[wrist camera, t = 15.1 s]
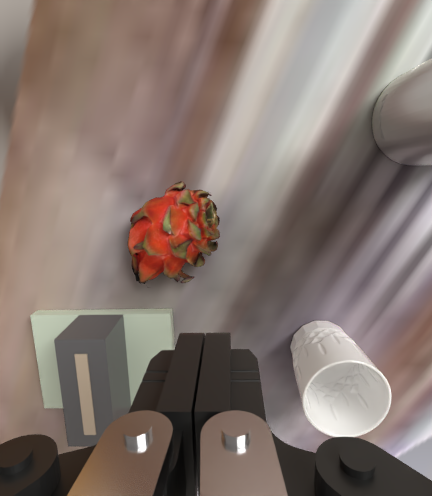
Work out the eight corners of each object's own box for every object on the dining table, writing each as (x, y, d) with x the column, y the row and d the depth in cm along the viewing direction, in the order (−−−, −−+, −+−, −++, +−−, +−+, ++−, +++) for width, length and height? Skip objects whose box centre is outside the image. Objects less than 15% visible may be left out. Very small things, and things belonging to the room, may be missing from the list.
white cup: (365, 332, 41) (408, 383, 31) (331, 386, 43) (362, 451, 33) (305, 303, 40) (330, 346, 31) (273, 359, 42) (286, 416, 32)
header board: (172, 308, 41) (165, 325, 37) (177, 399, 44) (172, 425, 39) (37, 310, 42) (14, 326, 37) (50, 400, 44) (30, 425, 40)
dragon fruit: (223, 188, 40) (158, 260, 43) (164, 147, 34) (96, 234, 38) (254, 235, 34) (176, 314, 38) (189, 196, 28) (105, 293, 32)
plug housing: (123, 314, 40) (104, 340, 34) (131, 408, 42) (115, 447, 36) (79, 314, 40) (53, 340, 34) (90, 408, 43) (67, 447, 37)
